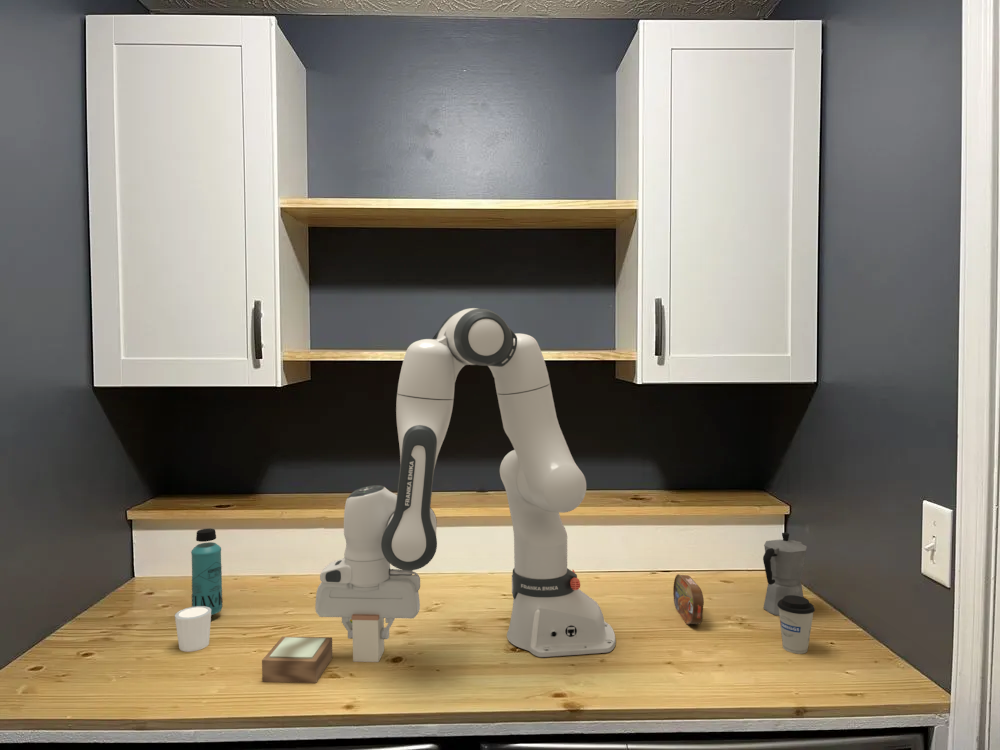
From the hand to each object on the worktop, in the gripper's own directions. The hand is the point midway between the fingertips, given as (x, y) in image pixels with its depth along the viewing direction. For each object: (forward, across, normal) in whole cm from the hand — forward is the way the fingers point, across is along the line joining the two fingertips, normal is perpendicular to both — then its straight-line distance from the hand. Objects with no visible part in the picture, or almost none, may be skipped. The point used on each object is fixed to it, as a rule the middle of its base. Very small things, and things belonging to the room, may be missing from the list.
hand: (368, 637), depth 135 cm
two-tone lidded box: (+4, 0, 0) cm, 4 cm away
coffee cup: (+4, -85, -7) cm, 85 cm away
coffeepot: (+4, -89, -26) cm, 93 cm away
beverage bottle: (+4, +41, -17) cm, 45 cm away
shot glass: (+4, +37, -3) cm, 37 cm away
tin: (+4, -67, -22) cm, 71 cm away
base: (+4, +12, +6) cm, 14 cm away
